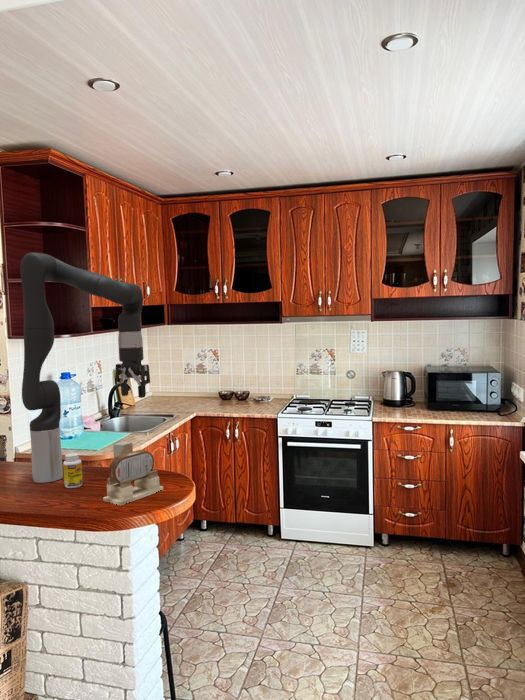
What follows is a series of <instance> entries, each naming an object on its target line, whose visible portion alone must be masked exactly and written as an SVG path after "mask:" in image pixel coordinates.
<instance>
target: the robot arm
mask: <svg viewBox="0 0 525 700" xmlns="http://www.w3.org/2000/svg"><path fill="white" fill-rule="evenodd" d="M19 267H20V268H19V269H20V280H21V287H22V298H23V349H24V351H23V352H24V354H23V372H22V384H21V400H22V403H23V406H24V408H26V410H28V411H36V410H37V411H38V410H41V412H40V413H39V414H38V416H36V417H35V418H33V419H32V420H31V421H30V422H29V434H30V435H29V437H30V449H31V452H30V457H31V458H30V459H31V470H32V480H33V482H34V483H38V484H42V483H43V484H44V483H50V482H55V481H58V480H61V479H63V478H64V469H63V459H62V457H63V456H62V443H61V428H60V422H61V419H62V417H61V416H62V413H61V411H62V409H61V404H62V403H61V399H62V398H61V392H60V387H59V385H58V383H57V382H56V381H55V380H52V379H48V380H40V379H41V371H42V368H43V365H44V363H45V361H46V359H47V357H48V356H49V354H50V352H51V350H52V348H53V346H54V343H55V321H54V319H53V316H52V313H51V310H50V308H49V306H48V303H47V300H46V294H45V283H47V282H50V283H60V284H63V285H64V284H65V285H69V286H71V287H74V288H75V289H77V290H79V291H80V292H84V293H86V294H88V295H92V296H94V297H98V298H103V299H105V300H107V301H110V302H112V303H114V304H118V305H121V306H122V311H121V313H120V314H119V315H118V318H117V322H118V323H117V324H118V325H117V328H118V338H117V339H118V340H117V341H118V344H117V345H118V359H119V362H121V363H116V364H115V382H116V383H119V385H120V392H121V397H126V396H129V380H131V379H133V380H134V381H136V383H137V385H138V386H137V392H138V398H139V399H143V398H146V395H147V393H146V386H147V384H150V383H151V376H150V375H151V374H150V367H149V364H142V361H143V360H144V342H143V334H142V322H141V316H142V311H143V303H144V293H143V290H142V288H141V286H139V285H138V284H136V283H133V282H132V283H129V282H124V281H119V280H116V279H113V278H111V277H109V276H107V275H103V274H100V273H97V272H93V271H90V270H86V269H82V268H78V267H76V266H72V265H70V264H67V263H66V262H64V261H62V260H60V259H58V258H56V257H54V256H52V255H50V254H49V253H48V254H47V253H41V252H27V253H26V254H25V255H24V256H23V257H22V258H21V260H20V266H19Z"/></svg>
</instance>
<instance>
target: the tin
mask: <svg viewBox="0 0 525 700" xmlns="http://www.w3.org/2000/svg"><path fill="white" fill-rule="evenodd" d="M154 467H155V458H154V455H153V454H152V453H151V452H150V451H147V450H146V449H145V450H144V449H139V450H133V452H130V453H125V454H121V455H118V456H117V457H115V458H114V457H113V459H112V460H111V461H110V464H109V467H108V476H109V477H108V478H110V479H111V480H112V481H113V482H115V483H119V484H120V481H123V480H126V479H131V483H132V482H134V481H136V480H139V479H142V478H145V477H147V472H150V471H153V470H154Z"/></svg>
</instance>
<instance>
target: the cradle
mask: <svg viewBox="0 0 525 700" xmlns="http://www.w3.org/2000/svg"><path fill="white" fill-rule="evenodd" d="M158 472H159V471H158V470H157V469H156V470H155V469H153V470H152V471H150V472H147V477H145V478H142V479H139V480H136V481H133V482H134V483H133V484H134V486H133V485H132V482H131V479H126V480H123V481H120V484H119V483H115V482H113V481H112V480H111V479H110V477H108V478H106V480H107V484H106V494H107V495H106V496H104V497H102V501H103V502H106V503H109V502H110V503H109V504H112V503H113V504H112V505H116V504H117V505H116V506H119V505H120V507H121V505H122V506H124V505H127V504H129V502H130V503H132V502H134V501H137V500H140V499H143V498H145V497H148V496H151V495H154V494H156V492H157V493H159V492H161V491H160V490H162V491H164V490H163V489H165V488H164V486H163V485H161V484H160V476H159V473H158ZM158 491H159V492H158ZM126 503H127V504H126Z"/></svg>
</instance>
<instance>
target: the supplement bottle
mask: <svg viewBox="0 0 525 700" xmlns="http://www.w3.org/2000/svg"><path fill="white" fill-rule="evenodd" d="M64 457H65V460H64V461H62V470H63V480H64V481H63V482H64V487H65V488H66V489H76V488H79V487H81V486H82V485H83V484H84V481H83V479H84V478H83V464H82V463H83V462H82V460H81V458H80V457H79V453H76V452H73V453H72V452H71V453H68V454H65V456H64Z"/></svg>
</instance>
